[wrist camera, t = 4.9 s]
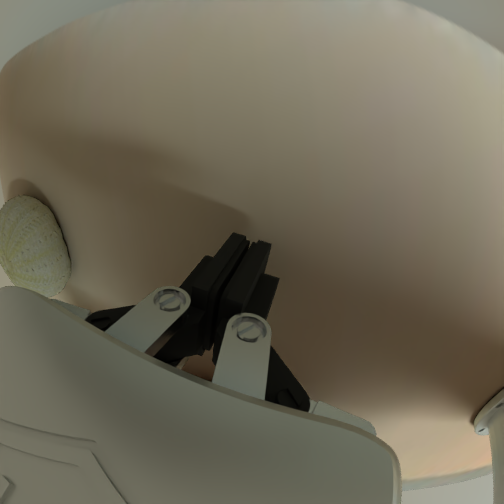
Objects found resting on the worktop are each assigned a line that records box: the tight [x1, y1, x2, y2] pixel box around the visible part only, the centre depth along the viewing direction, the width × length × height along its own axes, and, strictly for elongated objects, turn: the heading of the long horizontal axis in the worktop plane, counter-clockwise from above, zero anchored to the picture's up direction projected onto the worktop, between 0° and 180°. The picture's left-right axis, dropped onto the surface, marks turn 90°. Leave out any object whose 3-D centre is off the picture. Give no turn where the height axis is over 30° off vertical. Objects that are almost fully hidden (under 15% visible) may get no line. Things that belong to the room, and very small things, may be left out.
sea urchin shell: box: [0, 195, 71, 298], centre depth 17 cm, size 9×8×8 cm
